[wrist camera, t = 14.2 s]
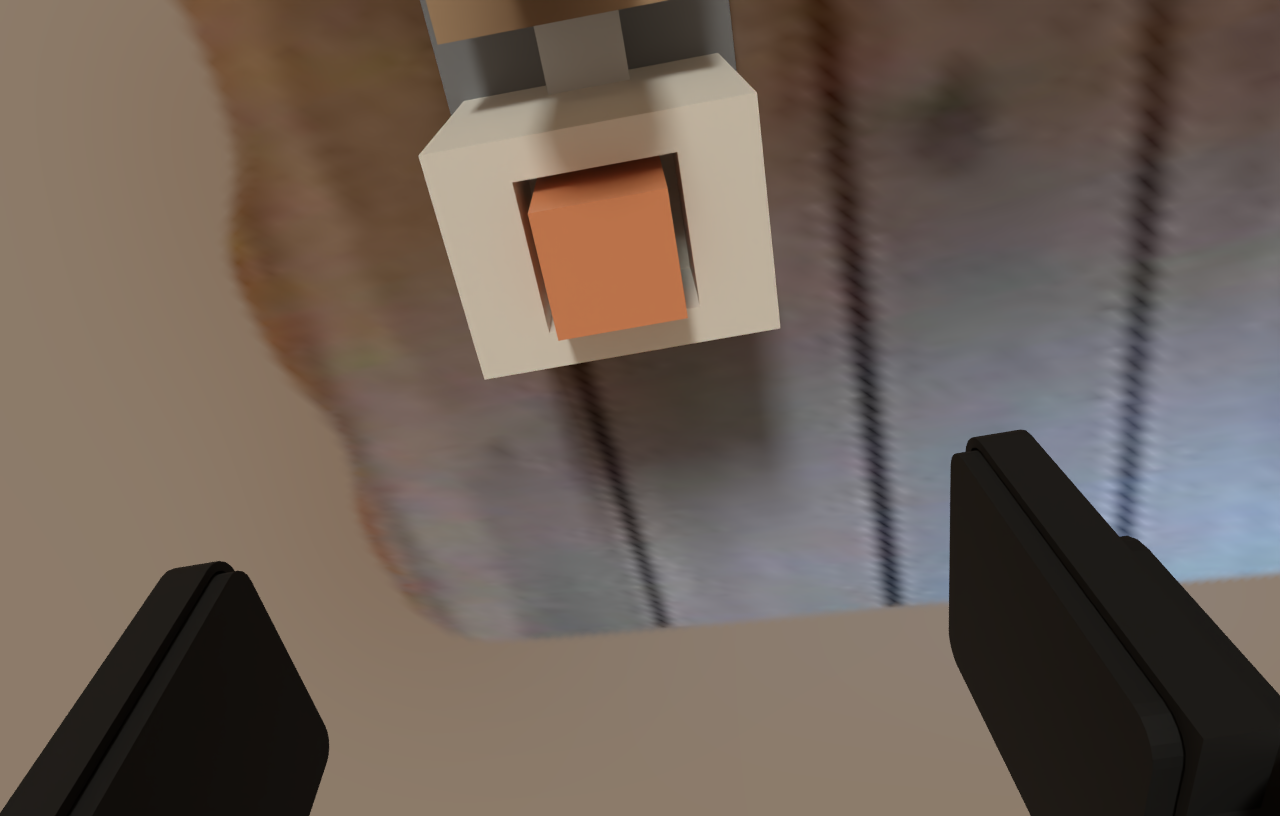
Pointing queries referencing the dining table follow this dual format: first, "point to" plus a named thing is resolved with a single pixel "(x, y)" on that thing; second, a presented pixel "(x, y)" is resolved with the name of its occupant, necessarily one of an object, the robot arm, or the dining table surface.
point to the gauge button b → (607, 248)
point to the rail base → (591, 137)
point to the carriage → (510, 14)
